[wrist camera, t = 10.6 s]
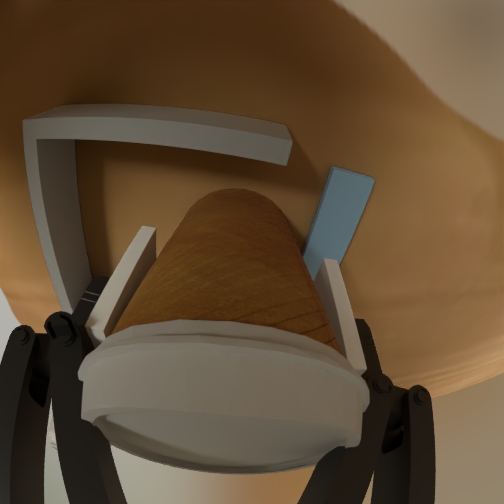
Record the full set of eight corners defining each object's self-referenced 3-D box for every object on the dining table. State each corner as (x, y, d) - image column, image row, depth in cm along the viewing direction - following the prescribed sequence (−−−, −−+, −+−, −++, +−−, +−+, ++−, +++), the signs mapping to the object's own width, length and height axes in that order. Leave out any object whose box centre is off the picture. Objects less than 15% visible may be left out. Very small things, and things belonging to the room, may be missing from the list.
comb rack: (62, 105, 12) (22, 120, 9) (285, 124, 13) (292, 141, 10) (111, 367, 27) (103, 393, 24) (219, 391, 28) (216, 419, 26)
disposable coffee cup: (190, 304, 20) (162, 470, 10) (131, 186, 15) (8, 377, 5) (324, 281, 19) (361, 461, 9) (302, 141, 13) (414, 362, 4)
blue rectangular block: (331, 165, 14) (333, 168, 13) (371, 177, 14) (375, 180, 14) (279, 311, 20) (279, 317, 20) (310, 316, 20) (311, 321, 20)
